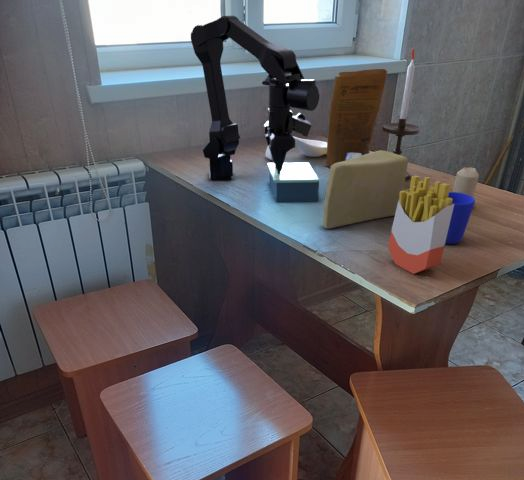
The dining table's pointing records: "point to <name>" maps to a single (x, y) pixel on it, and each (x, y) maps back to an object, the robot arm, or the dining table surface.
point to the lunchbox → (294, 191)
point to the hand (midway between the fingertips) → (277, 167)
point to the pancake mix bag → (353, 113)
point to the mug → (459, 216)
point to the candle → (466, 181)
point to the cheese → (364, 188)
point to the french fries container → (421, 225)
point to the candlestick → (404, 114)
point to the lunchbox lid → (293, 173)
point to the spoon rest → (306, 147)
